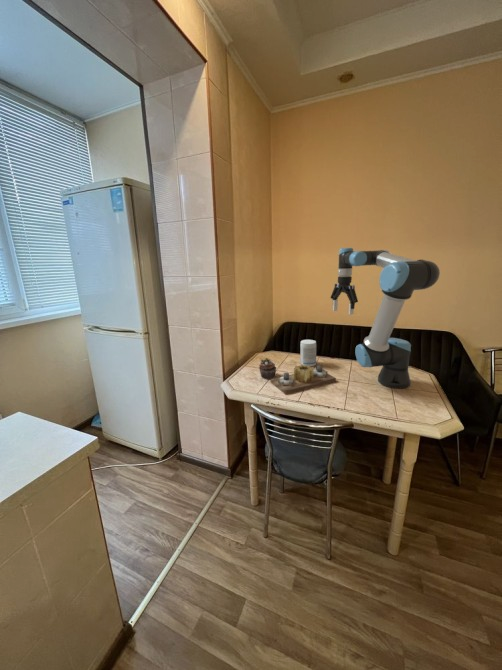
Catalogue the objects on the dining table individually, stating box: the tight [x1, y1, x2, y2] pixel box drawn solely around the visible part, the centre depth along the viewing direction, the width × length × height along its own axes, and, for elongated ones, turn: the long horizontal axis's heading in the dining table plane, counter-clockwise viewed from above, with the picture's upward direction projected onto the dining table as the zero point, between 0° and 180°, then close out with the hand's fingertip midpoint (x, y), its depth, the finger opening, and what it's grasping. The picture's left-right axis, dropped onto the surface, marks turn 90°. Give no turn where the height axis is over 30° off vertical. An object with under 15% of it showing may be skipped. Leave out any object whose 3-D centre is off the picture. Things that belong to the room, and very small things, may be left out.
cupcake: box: [258, 358, 277, 380], centre depth 158 cm, size 10×10×10 cm
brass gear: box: [293, 364, 315, 383], centre depth 148 cm, size 10×10×6 cm
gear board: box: [270, 364, 337, 395], centre depth 149 cm, size 15×31×7 cm, turn 114°
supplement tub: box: [299, 339, 317, 367], centre depth 172 cm, size 10×10×15 cm
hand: (342, 312), depth 166 cm, fingers open, 13 cm apart
